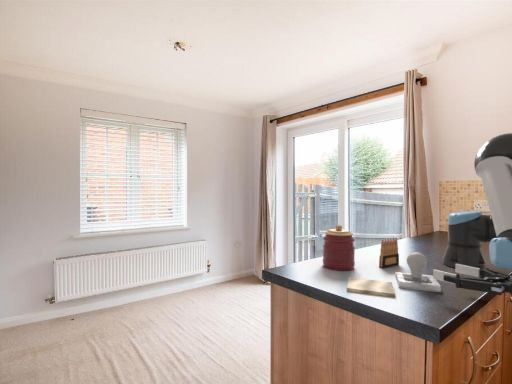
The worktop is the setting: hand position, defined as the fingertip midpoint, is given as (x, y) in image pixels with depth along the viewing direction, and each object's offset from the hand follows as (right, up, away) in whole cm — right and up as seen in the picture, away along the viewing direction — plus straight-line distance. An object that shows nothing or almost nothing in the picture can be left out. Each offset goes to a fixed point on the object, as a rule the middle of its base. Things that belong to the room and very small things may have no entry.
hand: (445, 270), depth 92 cm
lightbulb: (-5, -7, +8) cm, 12 cm away
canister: (-25, -7, +30) cm, 40 cm away
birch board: (-22, -7, +4) cm, 24 cm away
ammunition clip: (-3, -7, +31) cm, 32 cm away
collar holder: (-5, -7, +8) cm, 12 cm away
